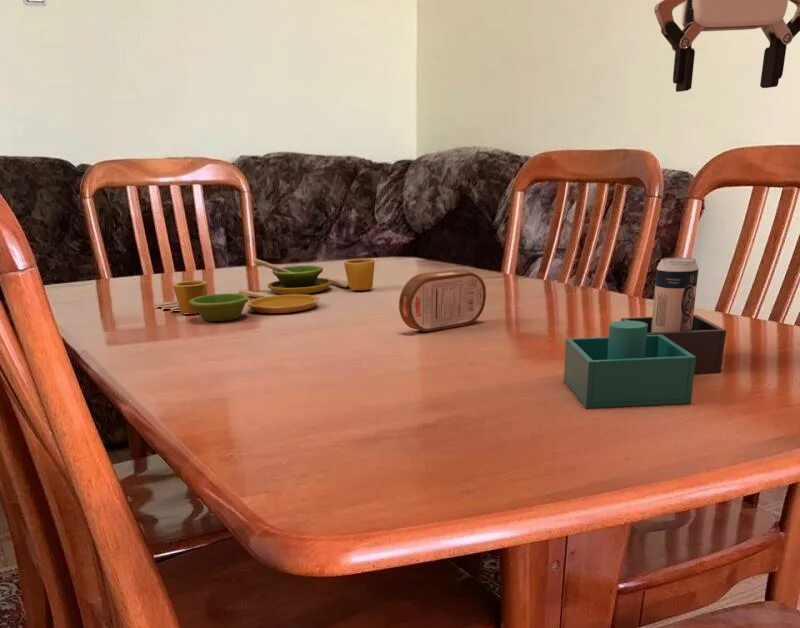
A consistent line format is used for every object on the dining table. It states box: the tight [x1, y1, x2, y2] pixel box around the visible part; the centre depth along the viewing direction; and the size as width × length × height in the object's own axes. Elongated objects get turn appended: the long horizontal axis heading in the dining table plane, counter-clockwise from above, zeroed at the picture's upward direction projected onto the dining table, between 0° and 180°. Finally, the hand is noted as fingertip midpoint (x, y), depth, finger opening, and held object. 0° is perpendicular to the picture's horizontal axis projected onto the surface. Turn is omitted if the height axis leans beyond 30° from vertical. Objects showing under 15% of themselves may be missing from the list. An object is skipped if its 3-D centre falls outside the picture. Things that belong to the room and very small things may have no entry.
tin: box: [398, 268, 487, 333], centre depth 126 cm, size 15×3×8 cm, turn 123°
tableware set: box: [154, 258, 376, 322], centre depth 154 cm, size 41×28×6 cm
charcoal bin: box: [620, 314, 727, 375], centre depth 102 cm, size 10×10×5 cm
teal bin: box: [563, 334, 696, 409], centre depth 92 cm, size 11×11×5 cm
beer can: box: [651, 256, 700, 333], centre depth 100 cm, size 5×5×12 cm
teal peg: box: [607, 320, 648, 360], centre depth 91 cm, size 4×4×7 cm
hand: (725, 89), depth 92 cm, fingers open, 9 cm apart
